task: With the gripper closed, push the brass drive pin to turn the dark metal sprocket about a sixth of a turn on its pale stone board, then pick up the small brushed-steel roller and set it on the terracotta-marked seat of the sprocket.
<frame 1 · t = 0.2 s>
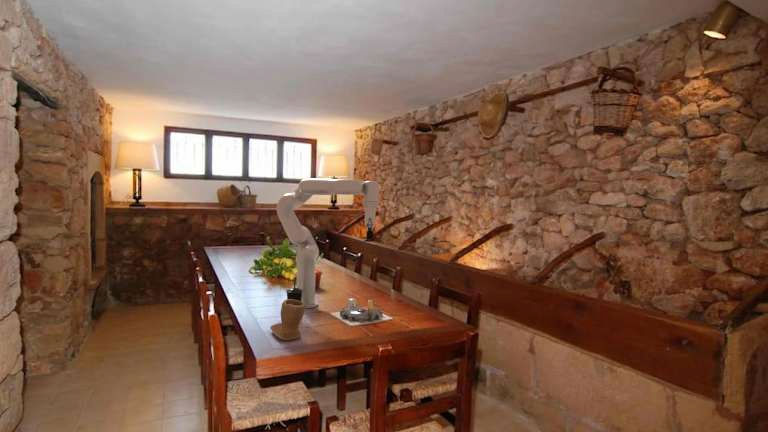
hand: (369, 237, 219), 37 cm above the table, tool pointing down, fingers open, 9 cm apart
sprocket: (361, 306, 205), point 5 cm above the table, hinge at 0.0°
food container: (308, 288, 262), on the table
roller: (351, 308, 219), on the table
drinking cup: (293, 319, 198), on the table
stone cup: (288, 336, 176), on the table
board: (361, 317, 205), on the table
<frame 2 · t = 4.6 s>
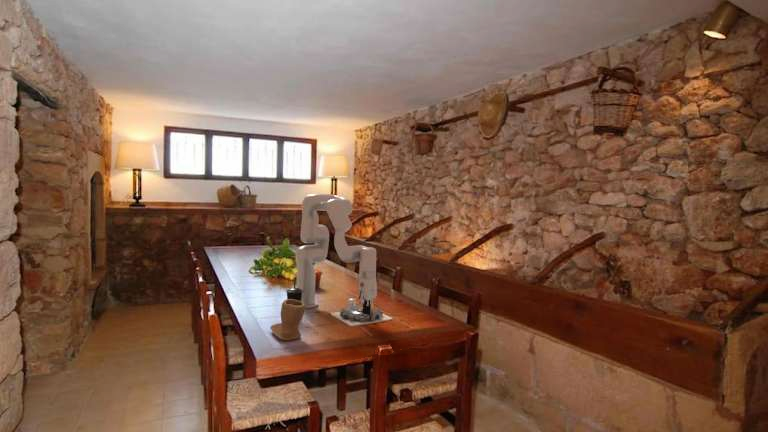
hand: (366, 313, 195), 5 cm above the table, tool pointing down, fingers closed
sprocket: (361, 306, 205), point 5 cm above the table, hinge at 2.6°, touching gripper
everything else where it was.
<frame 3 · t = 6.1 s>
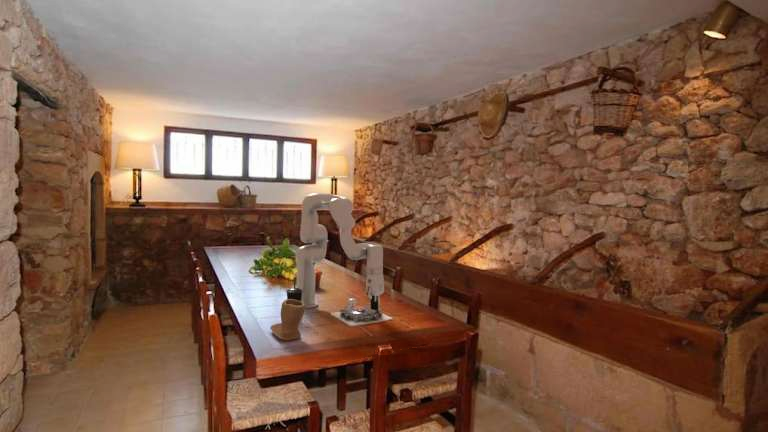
hand: (374, 309, 200), 5 cm above the table, tool pointing down, fingers closed
sprocket: (361, 306, 205), point 5 cm above the table, hinge at 45.6°, touching gripper
everything else where it was.
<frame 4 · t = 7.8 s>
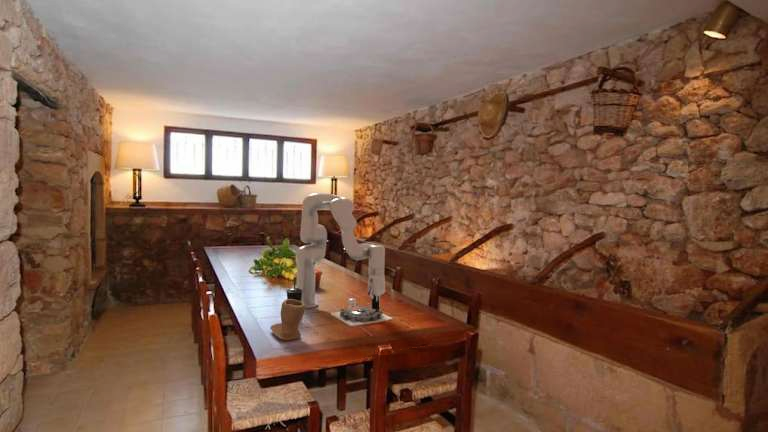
hand: (375, 308, 203), 5 cm above the table, tool pointing down, fingers closed
sprocket: (361, 306, 205), point 5 cm above the table, hinge at 68.1°
everything else where it was.
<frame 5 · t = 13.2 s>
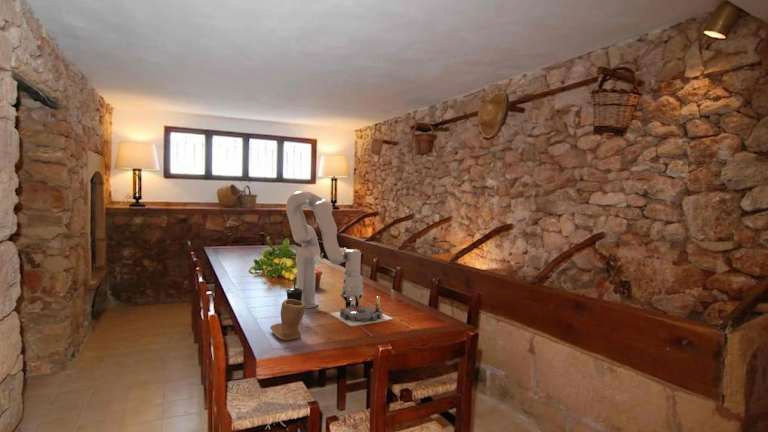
hand: (351, 307, 219), 0 cm above the table, tool pointing down, fingers closed on roller, 4 cm apart
roller: (351, 308, 219), on the table, touching gripper
everything else where it was.
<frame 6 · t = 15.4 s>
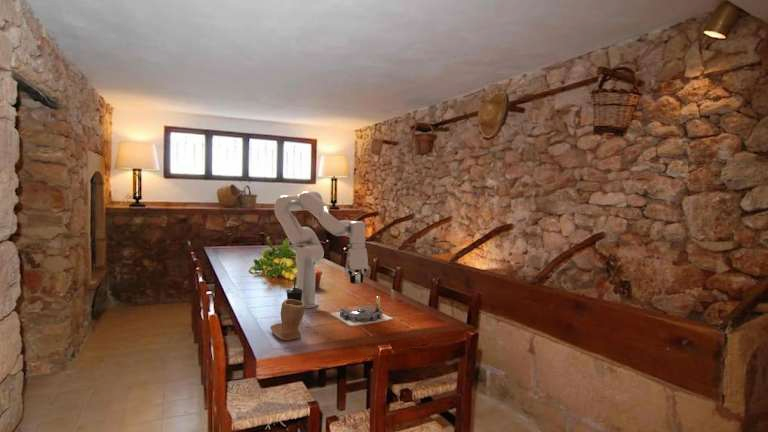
hand: (356, 282, 210), 16 cm above the table, tool pointing down, fingers closed on roller, 4 cm apart
roller: (356, 283, 210), point 15 cm above the table, touching gripper
everything else where it was.
when the fingers open (4 cm above the table, at t = 18.0 s): roller stays where it is, resting on sprocket.
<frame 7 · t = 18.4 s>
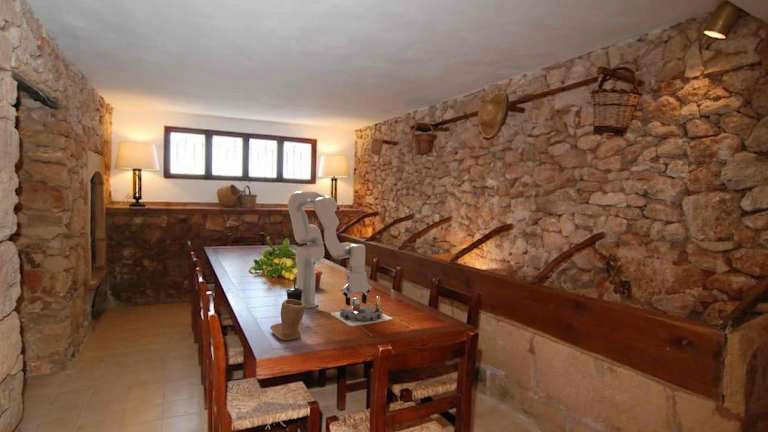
hand: (356, 303, 210), 5 cm above the table, tool pointing down, fingers open, 8 cm apart
sprocket: (361, 306, 205), point 5 cm above the table, hinge at 68.1°, touching roller
roller: (355, 308, 210), point 3 cm above the table, touching sprocket
everything else where it was.
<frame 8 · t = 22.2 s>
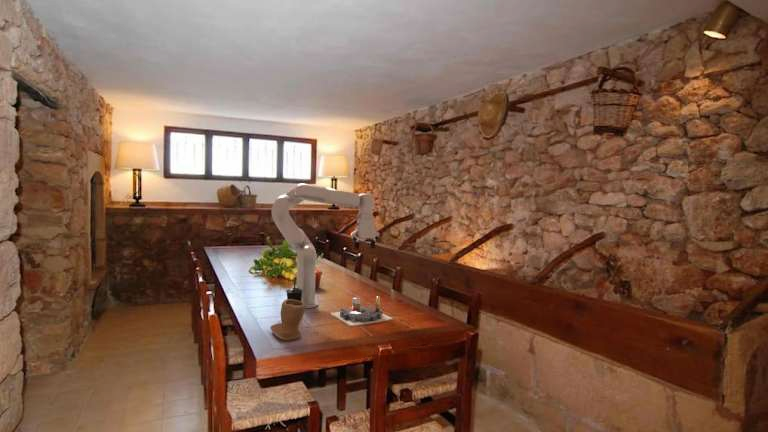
hand: (364, 248, 226), 30 cm above the table, tool pointing down, fingers open, 9 cm apart
nothing on the table moved.
at the end: sprocket at +68° (first picture: +0°); roller inside the target area (0.0 cm from its centre), point 3.0 cm above the table; roller tilted 2° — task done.
